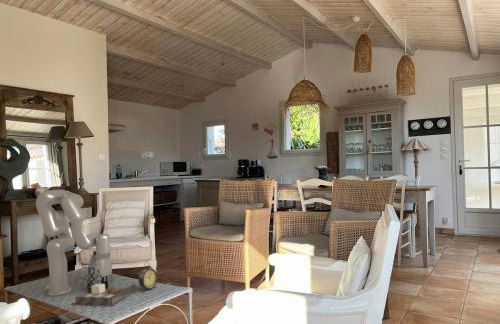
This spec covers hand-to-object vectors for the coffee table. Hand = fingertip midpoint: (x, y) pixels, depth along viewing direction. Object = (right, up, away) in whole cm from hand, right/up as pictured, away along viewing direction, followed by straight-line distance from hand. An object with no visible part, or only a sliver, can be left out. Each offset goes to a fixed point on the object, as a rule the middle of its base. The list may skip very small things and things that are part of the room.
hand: (104, 288), depth 220 cm
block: (-1, -1, -6) cm, 6 cm away
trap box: (+5, -2, -11) cm, 12 cm away
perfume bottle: (-16, -4, +30) cm, 34 cm away
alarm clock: (+25, -1, +1) cm, 25 cm away
